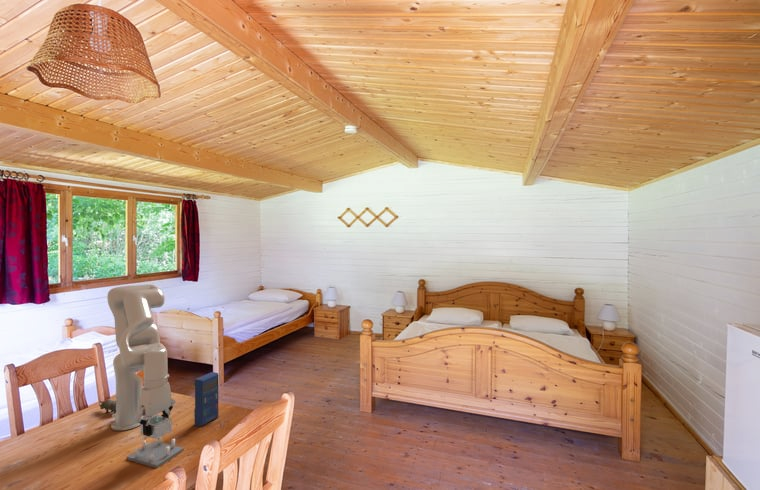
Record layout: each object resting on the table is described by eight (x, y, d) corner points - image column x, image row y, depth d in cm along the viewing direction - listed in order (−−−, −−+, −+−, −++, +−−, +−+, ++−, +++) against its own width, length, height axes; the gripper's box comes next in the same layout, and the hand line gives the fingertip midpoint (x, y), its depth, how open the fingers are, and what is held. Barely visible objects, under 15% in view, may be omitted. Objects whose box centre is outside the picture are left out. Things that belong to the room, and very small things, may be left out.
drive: (140, 433, 130) (140, 421, 130) (157, 426, 135) (157, 414, 135) (155, 439, 126) (155, 426, 126) (171, 431, 131) (171, 419, 131)
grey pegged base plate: (126, 459, 128) (126, 448, 128) (154, 443, 139) (154, 433, 139) (156, 468, 123) (156, 456, 123) (183, 450, 134) (183, 440, 134)
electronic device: (202, 427, 151) (202, 380, 151) (193, 424, 153) (193, 378, 153) (219, 417, 160) (219, 373, 160) (211, 415, 162) (211, 371, 161)
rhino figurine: (104, 408, 168) (104, 395, 168) (124, 412, 164) (124, 399, 164) (95, 411, 164) (95, 399, 164) (115, 416, 160) (115, 403, 160)
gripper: (169, 373, 140) (169, 418, 140) (125, 389, 124) (125, 440, 124) (183, 375, 138) (183, 421, 138) (140, 392, 121) (140, 444, 121)
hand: (156, 430), depth 131 cm, fingers closed on drive, 6 cm apart
